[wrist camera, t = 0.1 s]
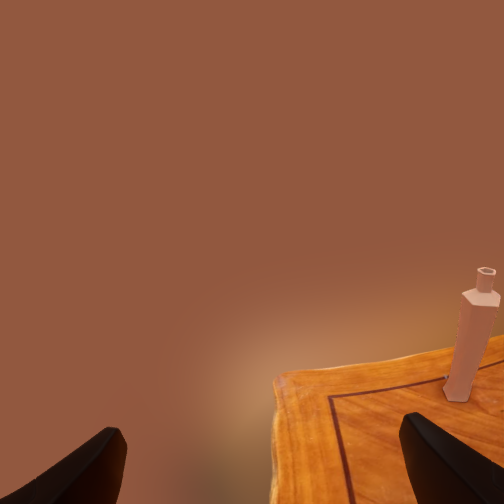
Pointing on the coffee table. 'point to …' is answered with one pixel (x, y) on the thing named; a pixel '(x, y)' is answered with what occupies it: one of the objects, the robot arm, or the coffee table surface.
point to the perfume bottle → (472, 335)
